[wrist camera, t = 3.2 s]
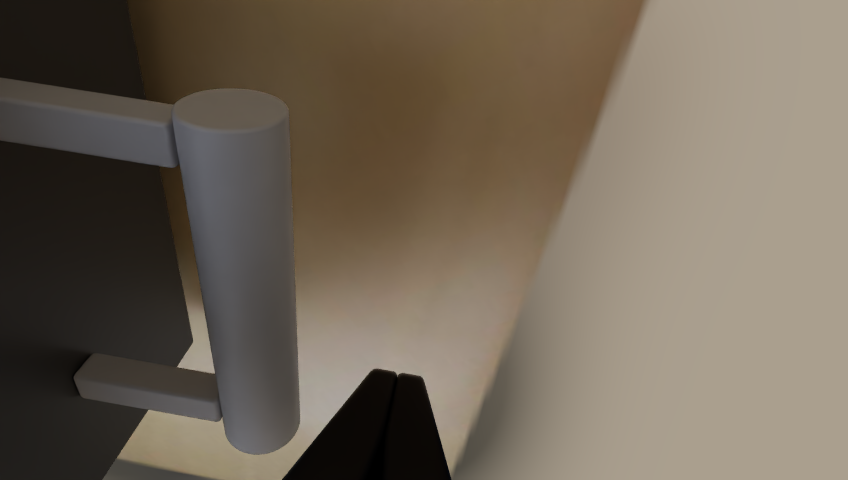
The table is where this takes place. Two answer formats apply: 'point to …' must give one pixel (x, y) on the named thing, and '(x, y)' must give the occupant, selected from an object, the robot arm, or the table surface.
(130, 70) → the drawer
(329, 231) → the table surface
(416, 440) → the robot arm
